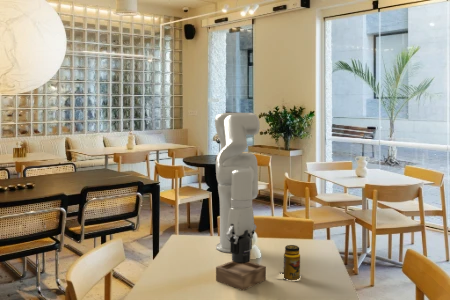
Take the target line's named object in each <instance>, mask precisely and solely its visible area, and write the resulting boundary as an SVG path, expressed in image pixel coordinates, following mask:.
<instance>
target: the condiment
mask: <svg viewBox="0 0 450 300" xmlns="http://www.w3.org/2000/svg"><path fill="white" fill-rule="evenodd" d="M300 272H301V254H300V246H298V245H296V244H295V245H294V244H289V245H288V244H287V245H286V246H285V247H284V253H283V271H279V273H280V274H281V273H282V274H284V278H285V279H288V280H297V279H299V278H300V276H301V277H302V276H303V274H301V273H300Z"/></svg>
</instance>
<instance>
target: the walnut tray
mask: <svg viewBox="0 0 450 300" xmlns="http://www.w3.org/2000/svg"><path fill="white" fill-rule="evenodd" d="M266 280H267V267H266V266H265V265H262V264H259V263H256V262H252V261H251V260H250V261H249V262H248V263H235V262H233V261H232V260H231V261H228V262H225V263H223V264H220V265H218V266H216V267H215V281H216V282H219V283H220V284H224V285H227V286H229V287H233V288H235V289H238V290H240V289H241V291H245V290H246V289H249V288H251V286H252V287H254V286H256V285H258V284H260V282H261V283H263V282H265V281H266ZM262 281H263V282H262Z"/></svg>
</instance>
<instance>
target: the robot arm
mask: <svg viewBox="0 0 450 300" xmlns="http://www.w3.org/2000/svg"><path fill="white" fill-rule="evenodd" d="M214 126H215V130H216V134H217V136H218V139H219V143H220V151H219V153H218V154H217V156H216V160H215V173H216V174H215V176H216V181H217V190H218V191H217V192H218V197H219V243H217V244H216V245H215V246H216V250H217V251H219V252H223V253H231V254H232V253H233V254H236V255H237V254H238V243H237V241H238V238H239V236H241V235H243V234H244V231H245V230H248V236H249V237H250V238H251V250H252V247H253V246H252V245H253V244H252V243H253V239H254V234H255V231H256V230H257V225H256V224H255V219H254V218H255V216H254V209H253V200H254V199H256V198H257V197H258V193H259V173H258V172H259V170H258V169H259V168H258V158H257V157H256V155H255V154H254V153H252V152H245V151H246V150H247V148H248V141H247V136H249V135H250V136H251V135H253V136H256V135H258V133H259V132H260V128H261V127H260V126H261V125H260V120H259V117H258V116H257V114H255V113H254V112H221V113H218V114H217V115H216V116H215V118H214ZM234 236H236V237H235V239H234Z"/></svg>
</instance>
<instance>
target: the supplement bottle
mask: <svg viewBox="0 0 450 300" xmlns="http://www.w3.org/2000/svg"><path fill="white" fill-rule="evenodd" d="M235 237H236V236H234V239H235ZM237 243H238V254H237V255H236V254H233V253H231V261H233V262H235V263H248V262H249V261H250V262H251V251H252V249H251V238H250V237H249V236H248V230H245V231H244V234H243V235H241V236H239V238H238V241H237Z"/></svg>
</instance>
